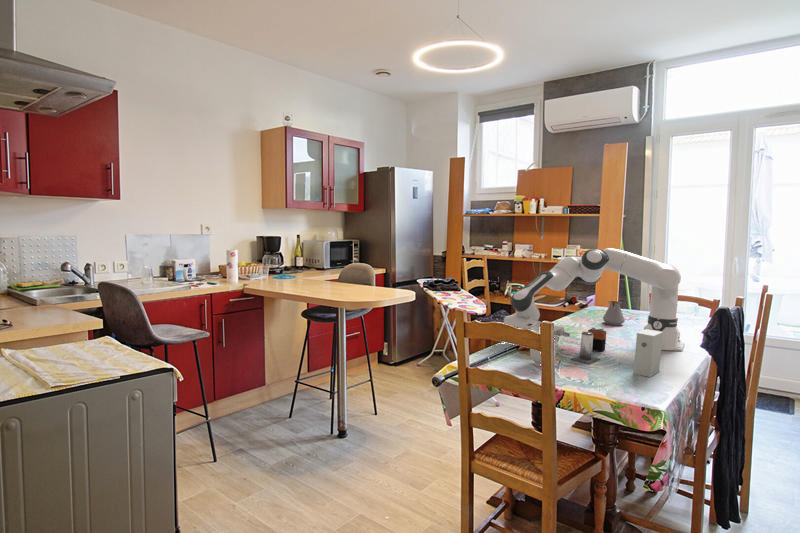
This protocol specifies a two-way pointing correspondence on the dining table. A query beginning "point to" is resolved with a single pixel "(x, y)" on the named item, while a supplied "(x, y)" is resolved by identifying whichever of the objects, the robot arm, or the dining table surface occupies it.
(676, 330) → the robot arm
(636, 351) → the control box
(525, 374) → the dining table surface
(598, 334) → the battery
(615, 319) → the coffee pot
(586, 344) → the can
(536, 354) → the teacup
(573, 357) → the mat
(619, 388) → the dining table surface
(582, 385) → the dining table surface
